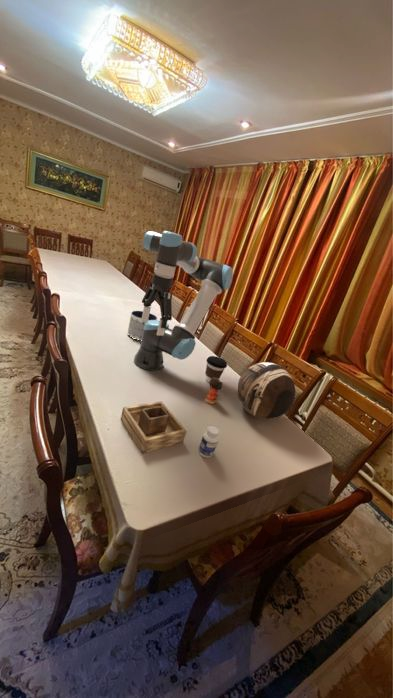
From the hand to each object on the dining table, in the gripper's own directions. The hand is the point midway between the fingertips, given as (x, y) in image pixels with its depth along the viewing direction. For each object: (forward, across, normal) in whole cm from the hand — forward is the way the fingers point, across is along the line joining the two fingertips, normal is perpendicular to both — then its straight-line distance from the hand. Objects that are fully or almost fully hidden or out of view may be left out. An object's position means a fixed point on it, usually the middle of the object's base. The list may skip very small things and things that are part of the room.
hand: (151, 328), depth 116 cm
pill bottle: (+29, +42, +6) cm, 51 cm away
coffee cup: (+29, 0, +42) cm, 51 cm away
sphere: (+29, +30, +46) cm, 62 cm away
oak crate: (+29, +26, -7) cm, 39 cm away
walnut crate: (+28, +26, -7) cm, 39 cm away
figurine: (+29, +16, +29) cm, 44 cm away
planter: (+29, -56, +27) cm, 69 cm away
